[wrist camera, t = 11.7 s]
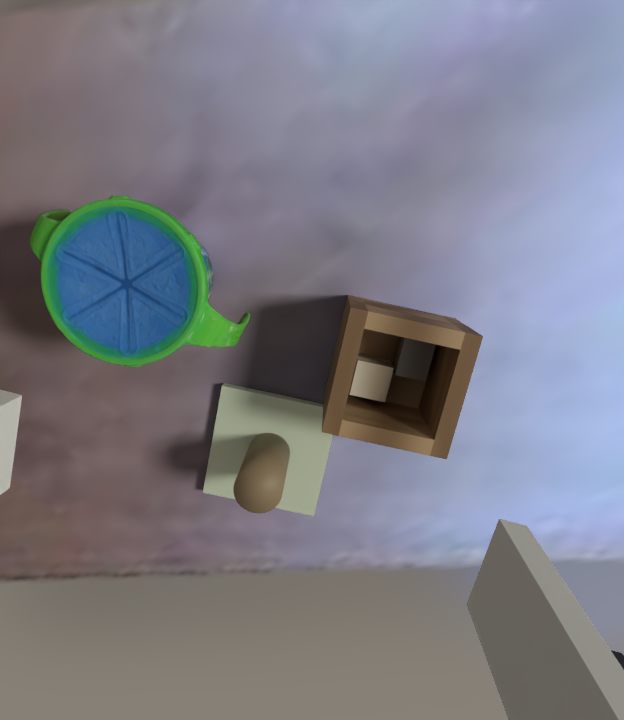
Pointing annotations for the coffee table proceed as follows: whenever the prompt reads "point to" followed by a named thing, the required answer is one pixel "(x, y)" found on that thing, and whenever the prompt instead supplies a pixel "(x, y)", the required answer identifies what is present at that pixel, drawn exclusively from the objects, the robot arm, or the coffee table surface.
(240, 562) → the coffee table surface
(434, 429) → the box
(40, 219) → the snack cup
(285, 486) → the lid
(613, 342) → the coffee table surface
